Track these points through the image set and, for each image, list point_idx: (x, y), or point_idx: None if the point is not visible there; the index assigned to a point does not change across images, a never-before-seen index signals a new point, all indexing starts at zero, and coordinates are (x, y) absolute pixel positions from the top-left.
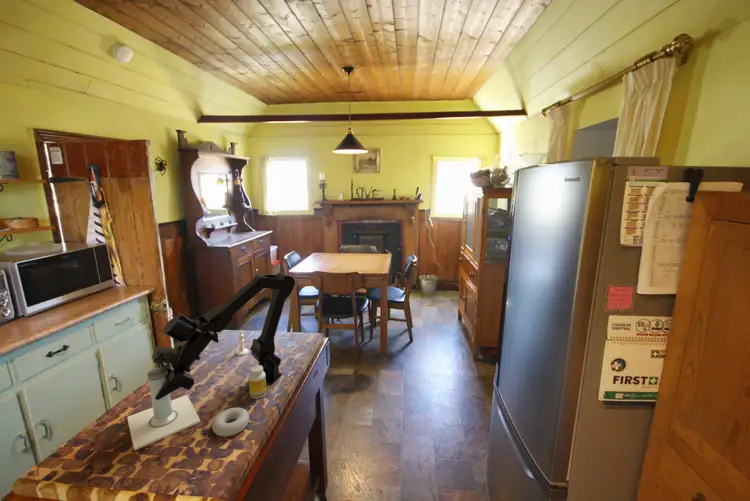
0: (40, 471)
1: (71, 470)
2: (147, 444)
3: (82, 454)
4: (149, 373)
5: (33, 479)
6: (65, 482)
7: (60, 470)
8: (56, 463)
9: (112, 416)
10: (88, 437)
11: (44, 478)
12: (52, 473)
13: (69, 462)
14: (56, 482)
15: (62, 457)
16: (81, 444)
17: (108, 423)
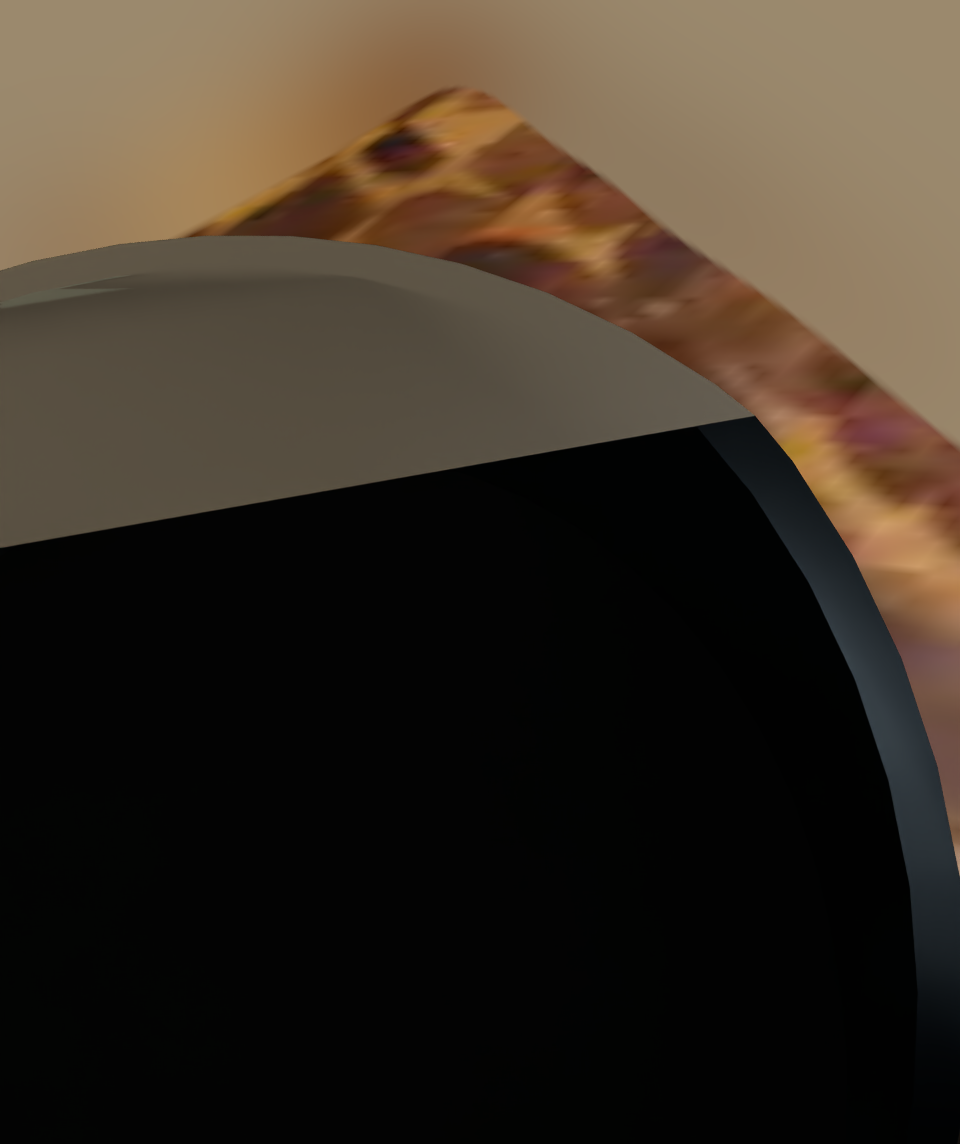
0: (491, 114)
1: (356, 228)
2: None
3: (485, 271)
4: (332, 354)
5: (440, 97)
6: (265, 209)
7: (410, 185)
8: (506, 166)
9: (918, 449)
10: (686, 298)
11: (402, 133)
12: (416, 158)
13: (455, 217)
14: (308, 177)
15: (548, 187)
16: (621, 265)
17: (807, 416)
